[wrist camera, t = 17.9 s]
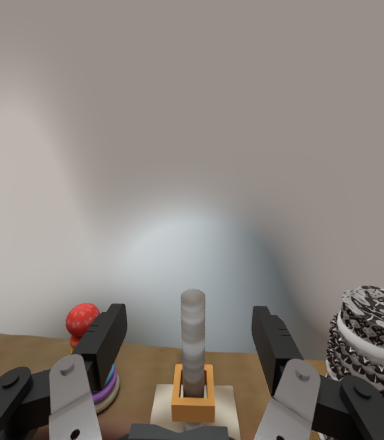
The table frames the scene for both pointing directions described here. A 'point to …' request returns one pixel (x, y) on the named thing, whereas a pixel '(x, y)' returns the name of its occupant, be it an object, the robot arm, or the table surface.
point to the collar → (193, 400)
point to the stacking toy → (78, 326)
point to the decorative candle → (358, 339)
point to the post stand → (194, 374)
